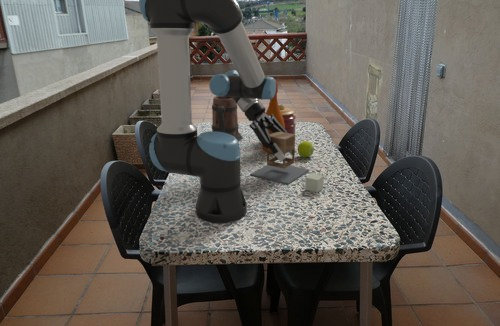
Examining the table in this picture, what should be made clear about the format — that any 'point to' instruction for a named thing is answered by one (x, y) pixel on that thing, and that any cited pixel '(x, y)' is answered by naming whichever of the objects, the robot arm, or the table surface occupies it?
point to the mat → (280, 173)
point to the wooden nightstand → (282, 148)
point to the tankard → (225, 116)
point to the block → (314, 182)
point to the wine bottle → (274, 110)
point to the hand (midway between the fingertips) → (288, 156)
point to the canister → (288, 119)
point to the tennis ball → (305, 149)
